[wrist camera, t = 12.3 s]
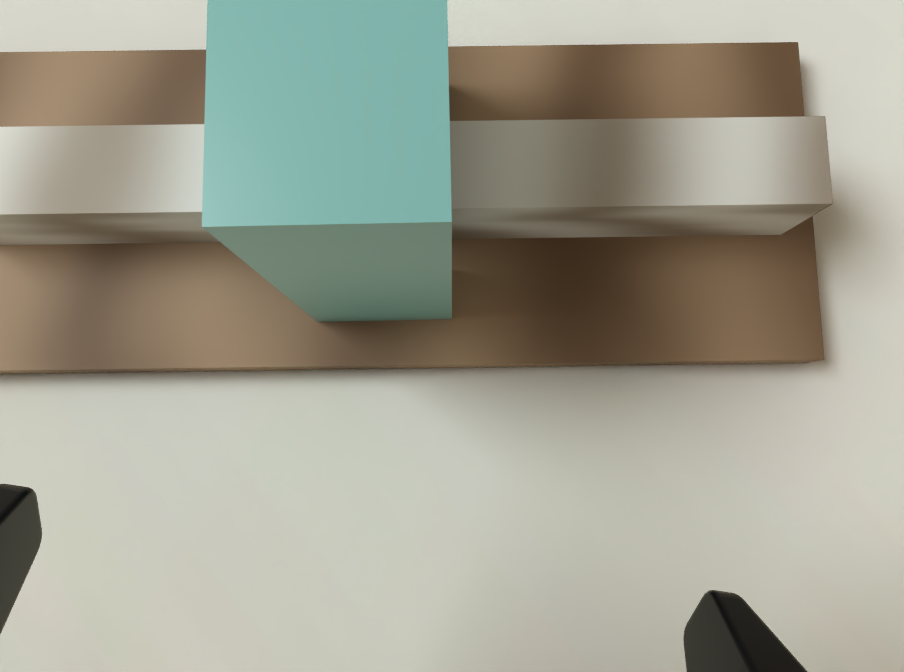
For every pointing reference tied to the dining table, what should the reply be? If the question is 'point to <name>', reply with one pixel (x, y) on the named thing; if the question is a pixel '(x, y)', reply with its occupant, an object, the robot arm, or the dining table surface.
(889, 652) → the dining table surface
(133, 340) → the rail board
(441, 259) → the teal rectangular block
